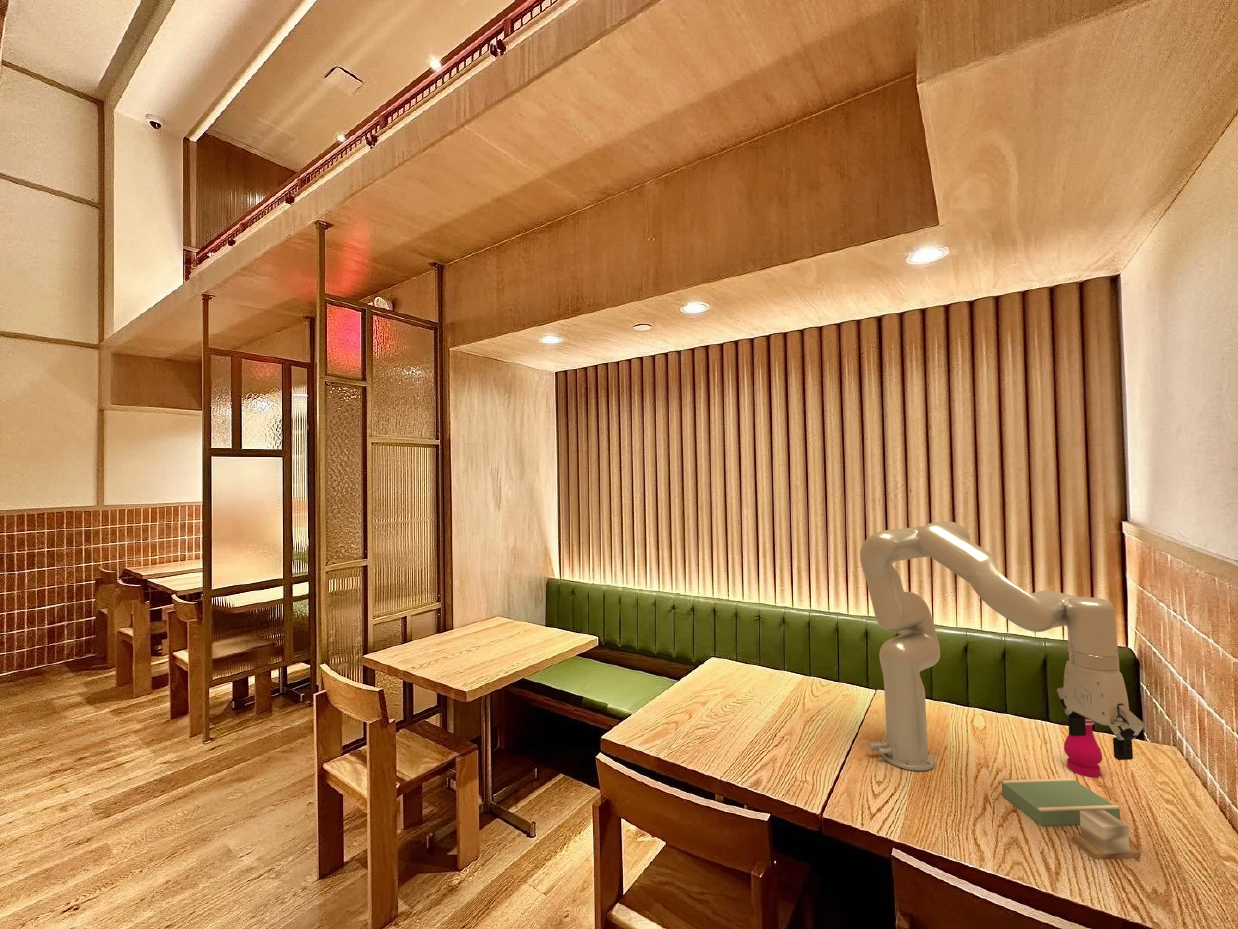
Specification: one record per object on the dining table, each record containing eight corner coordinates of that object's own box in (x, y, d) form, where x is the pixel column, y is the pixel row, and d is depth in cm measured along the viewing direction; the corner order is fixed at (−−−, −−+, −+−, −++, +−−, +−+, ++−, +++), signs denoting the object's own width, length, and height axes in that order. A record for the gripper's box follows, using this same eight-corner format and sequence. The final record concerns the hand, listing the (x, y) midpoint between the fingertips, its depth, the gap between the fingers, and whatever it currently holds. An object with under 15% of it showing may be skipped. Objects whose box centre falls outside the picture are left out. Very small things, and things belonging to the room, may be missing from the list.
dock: (1041, 826, 111) (1040, 810, 111) (1002, 795, 122) (1001, 780, 122) (1120, 823, 111) (1119, 807, 111) (1074, 792, 122) (1073, 778, 122)
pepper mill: (1057, 763, 135) (1052, 684, 135) (1083, 762, 135) (1078, 683, 136) (1084, 779, 128) (1079, 695, 128) (1111, 777, 128) (1106, 694, 129)
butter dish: (1094, 860, 101) (1092, 827, 101) (1071, 842, 106) (1069, 811, 106) (1140, 858, 101) (1138, 825, 101) (1115, 841, 106) (1113, 809, 106)
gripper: (1039, 648, 115) (1045, 728, 114) (1117, 676, 98) (1124, 770, 97) (1073, 646, 115) (1078, 726, 114) (1156, 674, 98) (1163, 768, 97)
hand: (1099, 746), depth 106 cm, fingers open, 9 cm apart
